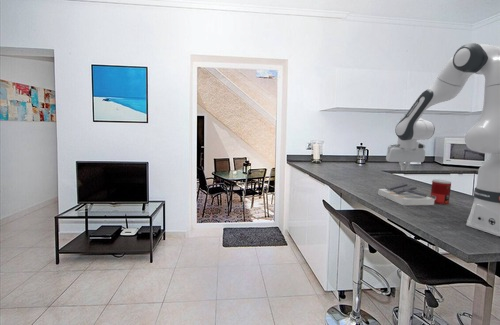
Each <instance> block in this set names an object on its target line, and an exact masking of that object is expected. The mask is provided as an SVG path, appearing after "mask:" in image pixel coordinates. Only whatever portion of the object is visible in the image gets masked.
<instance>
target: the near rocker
mask: <svg viewBox="0 0 500 325" xmlns="http://www.w3.org/2000/svg"><path fill="white" fill-rule="evenodd" d="M403 191H406V192H408V193H412V194H416V195H420V196H424V197H426V196H427V197H428V194H425V193H424V192H420V191H416V190H409V189H405V188H403Z"/></svg>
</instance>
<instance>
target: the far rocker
mask: <svg viewBox="0 0 500 325" xmlns="http://www.w3.org/2000/svg"><path fill="white" fill-rule="evenodd" d="M405 186H409V185H408V184H407V183H405V182H398V183H395V184H391V185H388V186H387V185H386V186H385V188H384V189H387V190H390V191H391V190H394V189H398V188H401V187H405Z"/></svg>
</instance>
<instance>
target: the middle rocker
mask: <svg viewBox="0 0 500 325" xmlns="http://www.w3.org/2000/svg"><path fill="white" fill-rule="evenodd" d="M403 188H405V189H409V190H412V191H416V190H417V186H415V185H411V184H410V185H408V186H405V187H401V188H398V189H394V190H393V192H395V193H398V194H400V193H404V192H406V191H403Z"/></svg>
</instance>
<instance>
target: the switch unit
mask: <svg viewBox="0 0 500 325" xmlns="http://www.w3.org/2000/svg"><path fill="white" fill-rule="evenodd" d="M377 190H378V191H377V194H378V195H379V196H381V197H383V198H386V199H387V200H391V201H393V202H395V203H397V204H399V205H402V206H434V205H435V203H434V200H435V199H433V198H431V196H430V197H429V196H428V195H427V196H426V197H424V196H420V195H416V194H412V193H408V192H404V193H400V194H398V193H395V192H393V190H391V191H390V190H387V189H386V188H378V189H377Z"/></svg>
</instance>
